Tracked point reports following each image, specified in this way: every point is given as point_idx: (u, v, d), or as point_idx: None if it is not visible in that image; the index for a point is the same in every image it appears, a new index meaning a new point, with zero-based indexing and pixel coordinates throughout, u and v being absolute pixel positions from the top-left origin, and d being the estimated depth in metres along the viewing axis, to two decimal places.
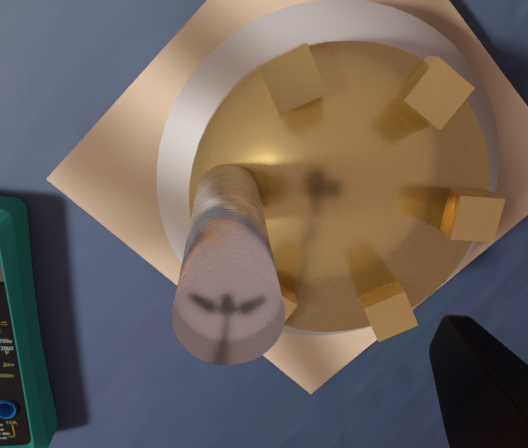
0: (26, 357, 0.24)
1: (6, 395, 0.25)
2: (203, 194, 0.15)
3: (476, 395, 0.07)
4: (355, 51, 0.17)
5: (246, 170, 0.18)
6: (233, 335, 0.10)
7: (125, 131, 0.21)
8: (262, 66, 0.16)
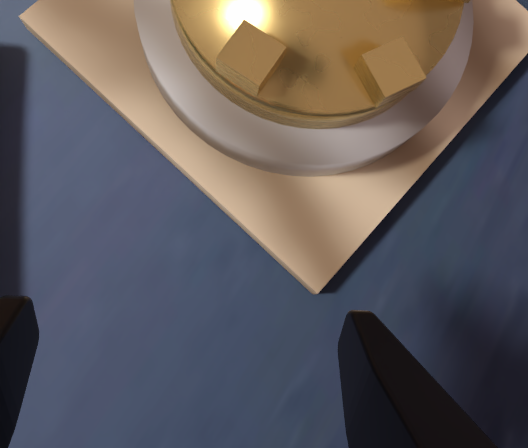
0: None
1: None
2: None
3: (365, 392, 0.07)
4: None
5: None
6: None
7: None
8: None
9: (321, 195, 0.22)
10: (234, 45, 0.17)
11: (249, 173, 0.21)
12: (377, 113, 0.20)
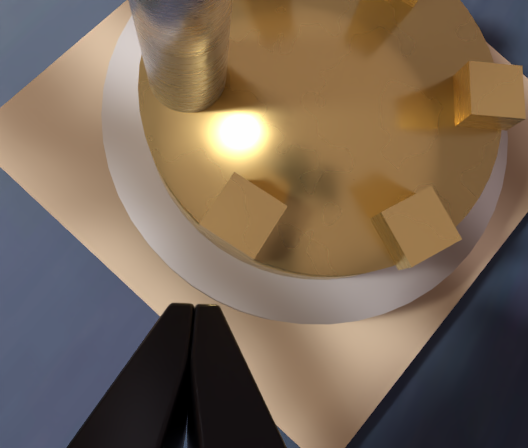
0: None
1: None
2: None
3: (188, 388, 0.07)
4: None
5: None
6: None
7: (73, 82, 0.19)
8: None
9: (329, 345, 0.18)
10: (222, 207, 0.13)
11: (243, 321, 0.18)
12: None
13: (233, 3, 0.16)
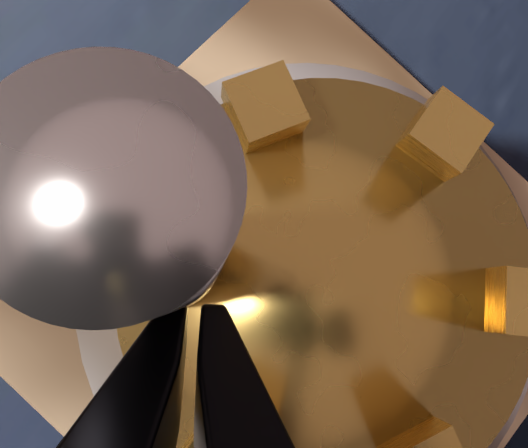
0: None
1: None
2: None
3: (196, 388, 0.07)
4: (341, 89, 0.14)
5: None
6: (110, 235, 0.04)
7: None
8: (227, 82, 0.13)
9: None
10: None
11: None
12: None
13: None
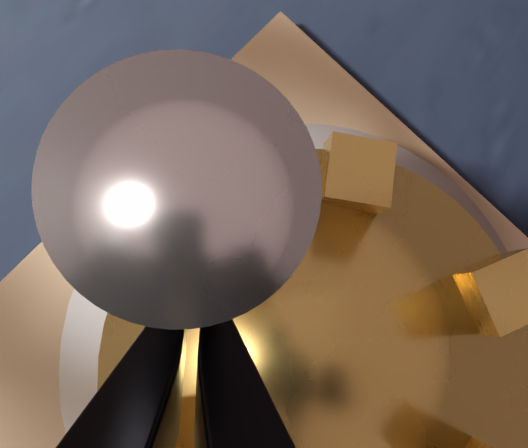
0: None
1: None
2: None
3: (196, 388, 0.07)
4: (433, 197, 0.14)
5: None
6: (160, 233, 0.04)
7: (31, 299, 0.16)
8: (337, 134, 0.13)
9: None
10: None
11: None
12: None
13: None
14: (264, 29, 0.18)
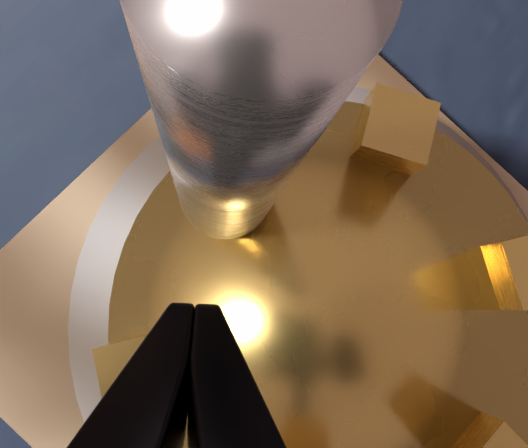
0: None
1: None
2: None
3: (188, 388, 0.07)
4: (469, 166, 0.14)
5: None
6: (236, 3, 0.04)
7: (39, 259, 0.16)
8: (381, 85, 0.13)
9: None
10: (127, 352, 0.11)
11: None
12: None
13: (329, 163, 0.13)
14: None
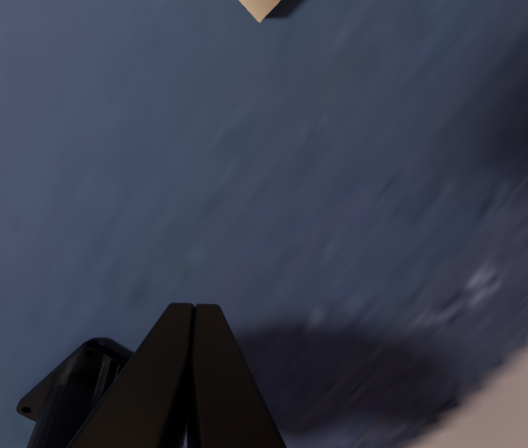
0: None
1: None
2: None
3: (189, 388, 0.07)
4: None
5: None
6: None
7: None
8: None
9: None
10: None
11: None
12: None
13: None
14: None
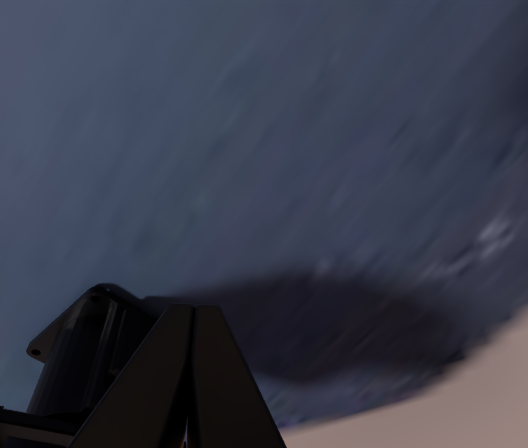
0: None
1: None
2: None
3: (189, 388, 0.07)
4: None
5: None
6: None
7: None
8: None
9: None
10: None
11: None
12: None
13: None
14: None
